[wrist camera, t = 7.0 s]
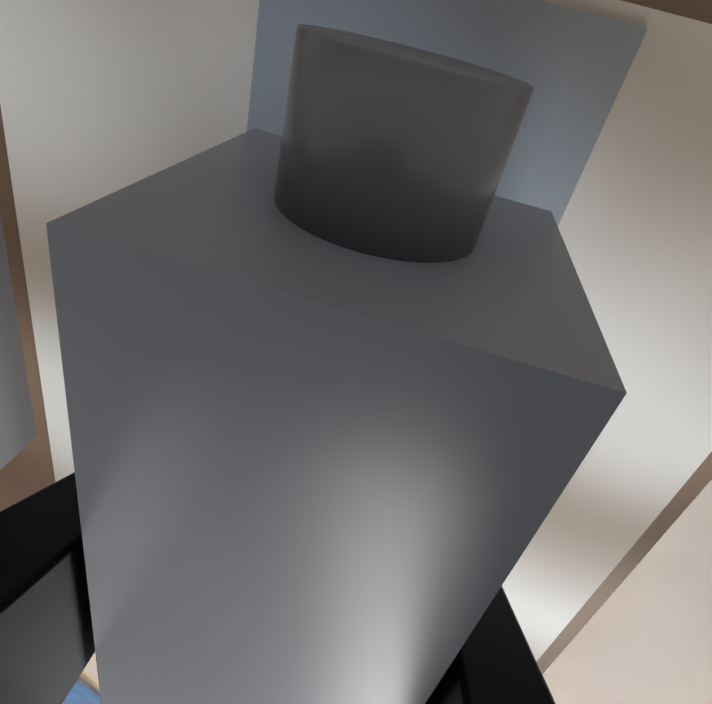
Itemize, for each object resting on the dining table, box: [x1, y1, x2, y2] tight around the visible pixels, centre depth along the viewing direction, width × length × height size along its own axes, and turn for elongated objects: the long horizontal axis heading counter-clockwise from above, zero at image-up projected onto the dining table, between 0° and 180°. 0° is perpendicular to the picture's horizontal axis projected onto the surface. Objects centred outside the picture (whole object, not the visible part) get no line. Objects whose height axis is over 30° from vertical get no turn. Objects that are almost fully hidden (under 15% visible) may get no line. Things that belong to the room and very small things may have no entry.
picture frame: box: [0, 0, 712, 674], centre depth 11 cm, size 16×22×1 cm
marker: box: [46, 24, 627, 704], centre depth 8 cm, size 13×4×4 cm, turn 168°
